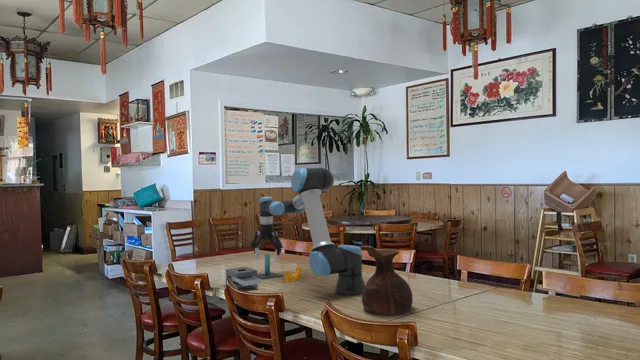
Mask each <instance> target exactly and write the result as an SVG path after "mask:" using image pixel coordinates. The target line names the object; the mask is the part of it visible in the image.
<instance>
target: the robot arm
mask: <svg viewBox="0 0 640 360" xmlns="http://www.w3.org/2000/svg"><path fill="white" fill-rule="evenodd" d="M290 182H291V183H290V186H291V189H292V191H293V192H295V193H297V195H296V196H295V197H294V198H292V199H290V200H274V198H273V197H272V196H261V197H260V198H259V230H260V231H259V230H256V231H255V235H254V237H253V240H252V242H251V244H250V247H252V248H253V252H254V257H255V258H254V259H255V260H259V258H260V250H259V249H260V247H259V246H260V245H261V243H262V242H263V240H264V241H265V240H267V241H269V242H271V244H272V245H273V246H274V248H275V252H274V255H275V258H274V261H275V262H278V261H280V254H281V250H282V249H284V246H283V243H282V242H281V239H280V237H279V232H278V231H275V232H274V224H273V223H274V216H281V215H286V214H287V215H288V214H290V215H291V214H300V213H304V212H305V214H306V220H307V223H308V229H309V233H310V236H311V240H312V241H311V242H312V244H313V245H312V248H311V253H309V255H308V264H309V268H310V270H311V271H312V273H314V274H315V275H316V276H318V277H323V276H326V277H327V276H330V275H336V274H338V277H337V281H336V284H335V287H334V293H335V295H339V296H343V297H344V296H345V297H352V296H355V297H356V296H362V294H363V290H364V287H365V285H366V283H365V281H364V278H363V252H362V251H363V250H361V248H360V247H361V246H358V245H351V244H349V245H348V244H338V246H337V247H336V244H335V243H334V242H332V241H331V237H330V233H329V227H328V224H327V220H326V217H325V213H324V208H323V204H322V200H321V195H322V194H325V193H327V192H328V191H330V190H331V189H332V188H333V185H334V182H335V178H334V175H333V173H332V172H331V171H330V170H329V169H327V168H326V167H303V168H300V167H299V168H297V169H294V171H293V173H292V176H291V180H290Z"/></svg>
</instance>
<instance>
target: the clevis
mask: <svg viewBox="0 0 640 360" xmlns="http://www.w3.org/2000/svg"><path fill="white" fill-rule="evenodd" d="M257 274H258V270H257V269H254V268H251V267H249V266H240V267H232V268H225V285H226V286H227V280H228V278H231V279H232V281H233V283H234V285H235V286H236V287H237V288H238V289H239V290H244V289H252V288H257V287H258V285H259V284H261V278H258V277H256V275H257Z"/></svg>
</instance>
